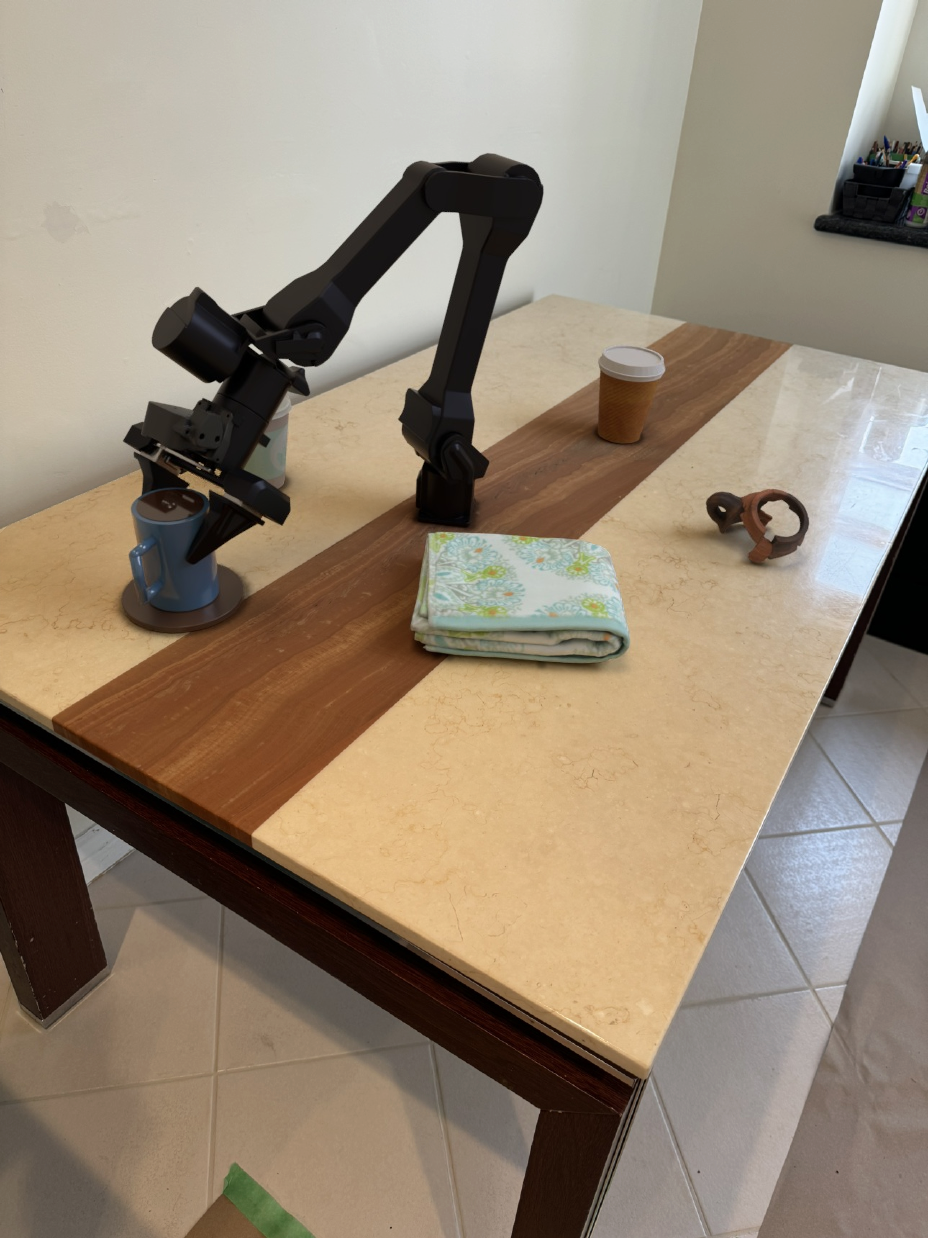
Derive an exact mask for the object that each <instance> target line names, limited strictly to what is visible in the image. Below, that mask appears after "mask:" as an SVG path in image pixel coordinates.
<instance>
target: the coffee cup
mask: <svg viewBox="0 0 928 1238" xmlns="http://www.w3.org/2000/svg"><path fill="white" fill-rule="evenodd" d="M292 408H293V406H292V402H291V398H290V397H289V396H288V393H287V394H286V395H285V397H284V399H283V401H282V402H281V404H280V406H279V408H278V410H277V411H276V413H275V415H274V417H273V418H272V420H271V422H270V424H269V425H268V427H267V429H266V431H265V433H264V434H265V435H266V436H267V437H269V438H270V439H271V440H270V442H269V444H268V445H267V447H266V448H265V447H263V446H261V445H257V447H256V449H255V450H254V452H253V454H252V456H251V457H250V459H249V461H248V463H247V464H246V466H245V468H244V470H246V471H248V472H250V473H252V474H254V475H256V476H258V477H260V478H263V479H264V480H266V481H267V482H269V483H270V484H272V485H273V486H274V487H276V488H277V489H279V490H280V488H281V487H283V486H284V485H285V478H286V467H287V465H286V464H287V449H288V448H287V447H288V436H289V435H288V433H289V420H290V419H289V418H290V412H291V411H292Z"/></svg>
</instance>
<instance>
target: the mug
mask: <svg viewBox="0 0 928 1238" xmlns="http://www.w3.org/2000/svg"><path fill="white" fill-rule="evenodd" d="M208 511H209V497H208V496H206V495H205V494H204V493H202V492H200V491H199V490H196V489H193V488H189V487H187V488H163V489H158V490H154V491H150V492H148V493H145V494H143V495H141V494H140V496H138V497H136V499H134V501H133V502H132V504H131V506H130V513H131V519H132V523H133V524H132V525H133V529H134V537H135V539H136V540H135V541H136V545H135V546H134V547H133V548H132V549H131V550H129V552H128V558H129V564H130V569H131V574H132V580H134V585H135V590H136V596H137V601H138V603H139V604H142V605H144V604H146V603H148V602H150V603H151V604H152V605H153V606H155V607H157V608H159V609H162V610H166V611H172V612H183V611H190V610H195V609H198V608H201V607H203V606H205V605H207V604H209V603H210V602H212V601H213V600H214V599H215V598H216V597H217V595H218V594H219V591H220V586H219V577H218V569H217V564H218V561H217V553H216V550H215V551H214V552H212V553H211V554H209V555H208V556H206V557H205V558H204V559H202V560H201V561H199V562H198V563H196V564H195V565H192V564H190V563H188V562H186V560H185V559H186V556H187V553H188V551H189V548H190V546H191V544H192V542H193V540H194V538H195V536H196V535H197V533H198V531H199V529H200V527H201V525H202V523H203V521H204V519H205V517H206V515H207V514H208Z"/></svg>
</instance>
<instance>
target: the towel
mask: <svg viewBox="0 0 928 1238" xmlns="http://www.w3.org/2000/svg"><path fill="white" fill-rule="evenodd" d="M425 539H426V542H425V547H424V555H423V557H422V563H421V568H420V575H419V584H418V591H417V596H416V600H415V605H414V607H413V612H412V615H411V622H410V631H412V632H414V639H413V640H414V641H418V642H420V643H421V644H424V646H423V647H422V648H423V649H425V650H426V651H427V652H431V653H432V652H433V653H441V654H446V655H447V654H448V655H456V656H468V657H469V656H470V657H485V658H505V659H513V660H514V659H516V660H526V661H541V662H553V663H555V662H556V663H567V664H568V663H569V664H570V663H571V664H593V663H602V662H607V661H610V660H611V661H612V660H614V659H619V658H621V657H622V656H623V655H625V654H626V653H627V651H628V650H629V648H630V646H631V637H630V628H629V625H628V621H627V616H626V612H625V608H624V603H623V600H622V593H621V589H620V584H619V581H618V578H617V573H616V570H615V569H616V568H615V564H614V562H613V558H612V556H611V554H610V552H609V550H608V549H607V548H605V547H604V546H601V545H600V544H595V543H591V542H589V541H587V540H583V539H582V540H581V539H573V538H564V537H561V538H559V537H537V536H523V535H514V534H502V533H501V534H500V533H482V532H481V533H478V532H477V533H476V532H475V533H474V532H453V531H436V532H428V533H427V535H426V538H425Z"/></svg>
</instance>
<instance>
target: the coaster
mask: <svg viewBox="0 0 928 1238" xmlns="http://www.w3.org/2000/svg"><path fill="white" fill-rule="evenodd" d="M217 569H218V577H219V586H220V591H219V594H218V595H217V597H216V598H215V599H214V600H213V601H212V602H210V603H209V604H207V605H205V606H203V607H201V608H198V609H195V610H190V611H183V612H172V611H166V610H162V609H159V608H157V607H155V606H153V605H152V604H151V603H150V602H148V603H146V604H144V605H142V604H139V603H138V601H137V596H136V590H135V585H134V580H133V579H131V580H130V581H129V582H128V583H127V585H126V586H125V587H124V589H123V591H122V594H121V607H122V609H123V613H124V614H125V616H126V617H127V618H128V619H129V620H130V621H131V622H132V623H134V624H136V625H138V626H139V627H141V628H143V629H146V630H150V631H154V632H160V633H169V634H175V633H177V634H179V633H189V632H195V631H200V630H204V629H207V628H210V627H213V626H215V625H218V624H220V623H222V622H224V621H225V620H227V619H229V618H230V617H231V616H233V615H234V614H235V613H236V612H237V611H238V610H239V608H240V607H241V606H242V604H243V601H244V599H245V598H244V597H245V585H244V583H243V580H242V578H241V577H240V576H239V575H238V573H236V572H235V571H233V570H232V569H230V568H228V567H227V566H224V565H221V564H219V563H217Z"/></svg>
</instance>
